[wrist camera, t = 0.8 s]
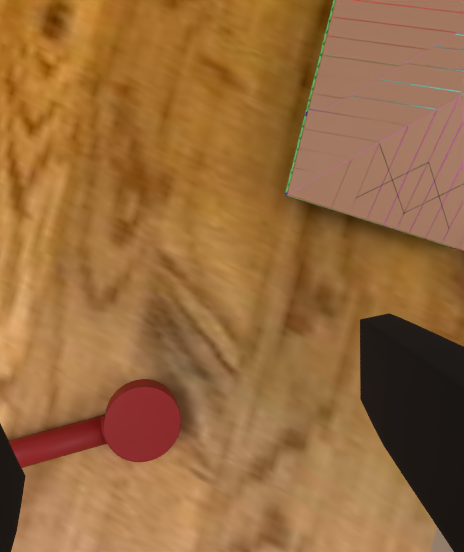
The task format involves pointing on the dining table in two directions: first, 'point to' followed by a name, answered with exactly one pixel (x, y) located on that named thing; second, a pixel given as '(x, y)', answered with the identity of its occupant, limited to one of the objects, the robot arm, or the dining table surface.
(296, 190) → the house
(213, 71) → the dining table surface
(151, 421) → the spoon
